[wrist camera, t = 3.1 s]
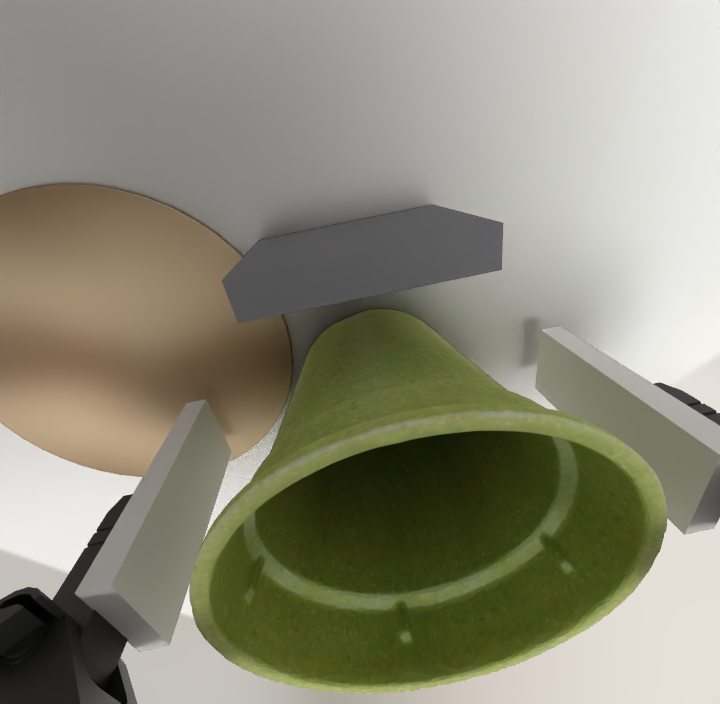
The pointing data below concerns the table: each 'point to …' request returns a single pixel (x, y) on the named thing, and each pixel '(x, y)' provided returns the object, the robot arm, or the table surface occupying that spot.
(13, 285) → the coaster
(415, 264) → the twin grey plates
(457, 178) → the table surface
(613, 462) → the plant pot
